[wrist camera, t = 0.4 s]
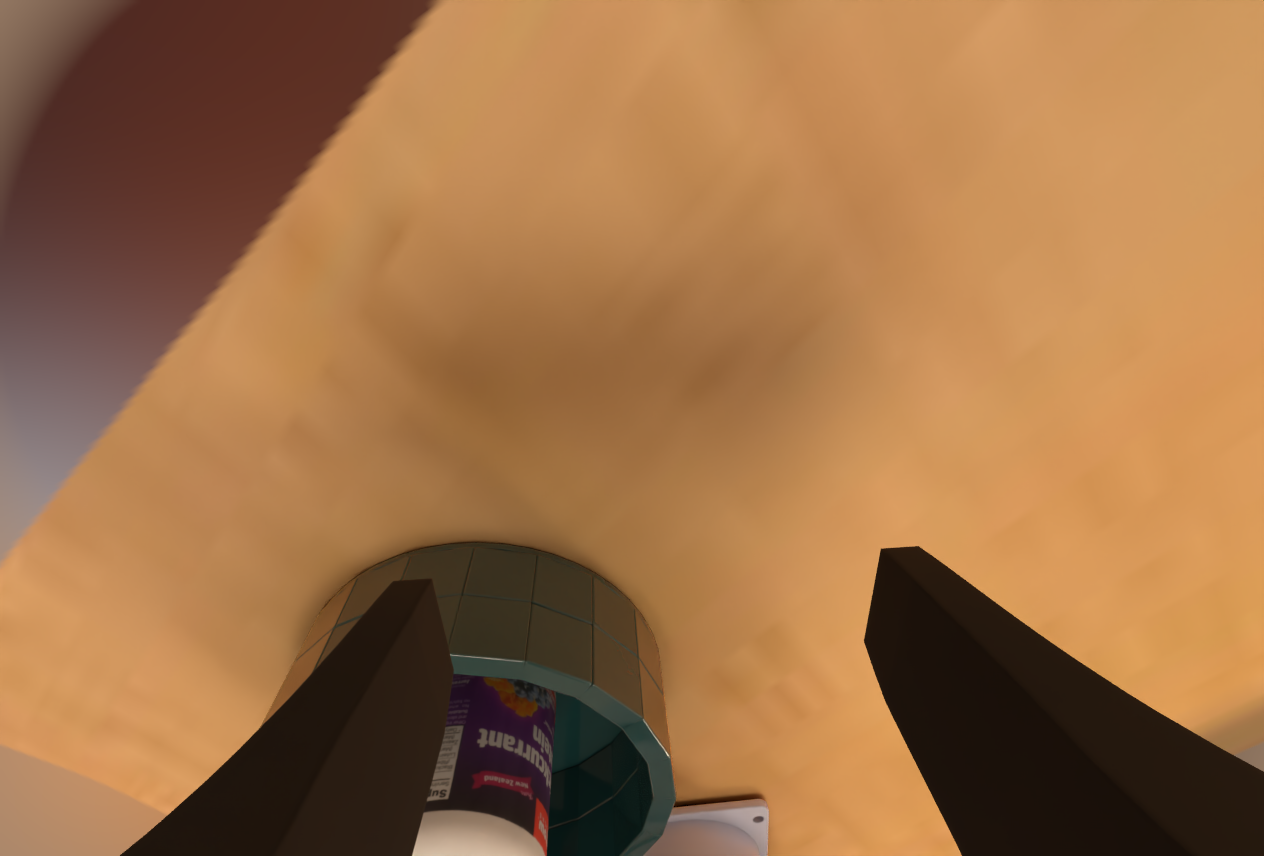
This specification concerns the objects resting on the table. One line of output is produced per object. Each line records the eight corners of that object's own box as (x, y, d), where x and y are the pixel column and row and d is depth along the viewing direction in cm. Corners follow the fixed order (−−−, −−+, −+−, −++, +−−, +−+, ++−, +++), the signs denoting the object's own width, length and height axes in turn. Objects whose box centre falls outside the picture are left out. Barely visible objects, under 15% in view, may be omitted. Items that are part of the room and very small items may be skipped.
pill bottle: (583, 699, 26) (579, 1008, 17) (473, 748, 27) (417, 1062, 18) (504, 614, 23) (452, 923, 15) (386, 672, 24) (275, 992, 16)
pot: (729, 675, 26) (757, 796, 21) (501, 823, 30) (486, 952, 25) (469, 472, 21) (436, 576, 16) (235, 684, 24) (156, 814, 20)
